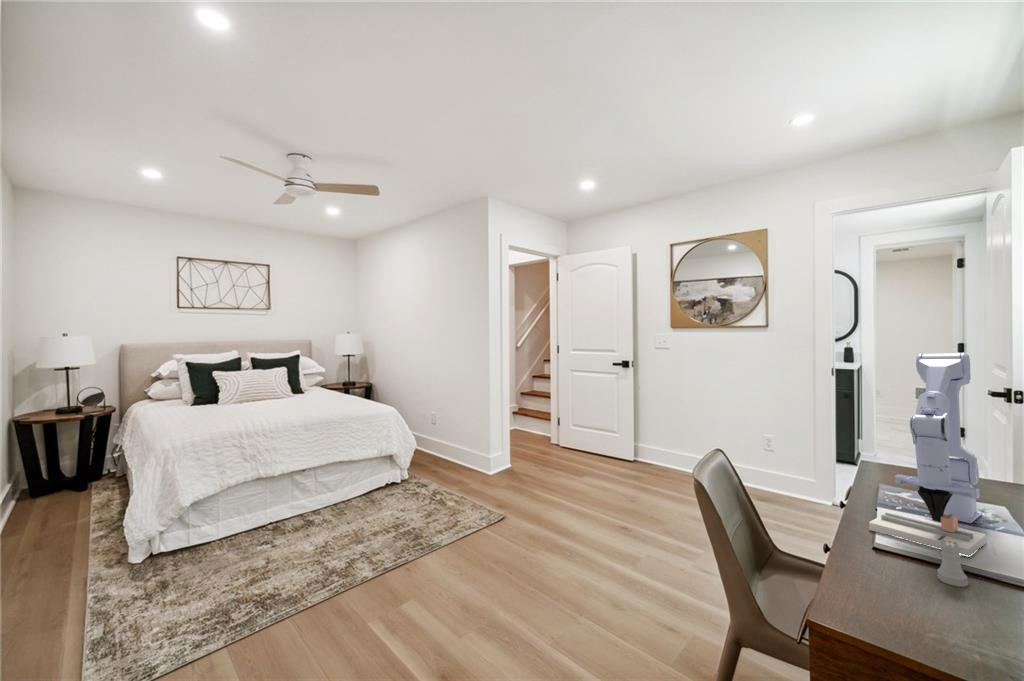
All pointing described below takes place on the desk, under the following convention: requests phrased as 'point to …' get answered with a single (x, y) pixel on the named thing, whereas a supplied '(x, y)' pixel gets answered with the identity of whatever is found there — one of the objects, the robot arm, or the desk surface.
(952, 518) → the fader
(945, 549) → the rook chess piece
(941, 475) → the robot arm
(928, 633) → the desk surface
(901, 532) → the white slider track board
